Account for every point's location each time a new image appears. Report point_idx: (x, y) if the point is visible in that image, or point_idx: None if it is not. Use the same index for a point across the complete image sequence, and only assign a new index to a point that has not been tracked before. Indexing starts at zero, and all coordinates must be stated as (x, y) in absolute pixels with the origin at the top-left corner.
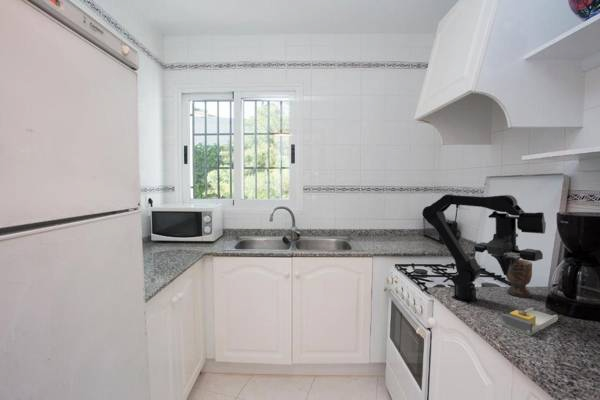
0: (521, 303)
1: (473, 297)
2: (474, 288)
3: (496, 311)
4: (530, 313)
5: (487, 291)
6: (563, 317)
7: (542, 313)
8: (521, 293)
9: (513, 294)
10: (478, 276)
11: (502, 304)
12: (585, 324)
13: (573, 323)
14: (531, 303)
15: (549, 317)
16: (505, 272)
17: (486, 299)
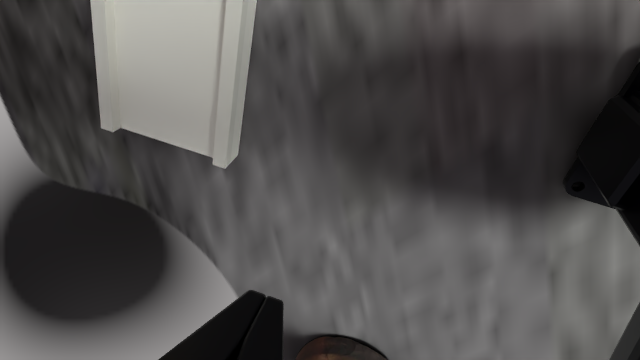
0: (307, 257)
1: (609, 122)
2: (627, 201)
3: (403, 19)
4: (209, 86)
5: (502, 354)
6: (122, 175)
7: (169, 131)
8: (321, 356)
9: (361, 348)
10: (634, 317)
11: (390, 187)
12: (44, 143)
13: (71, 122)
14: (271, 280)
15: (108, 62)
16: (242, 322)
17: (496, 221)
